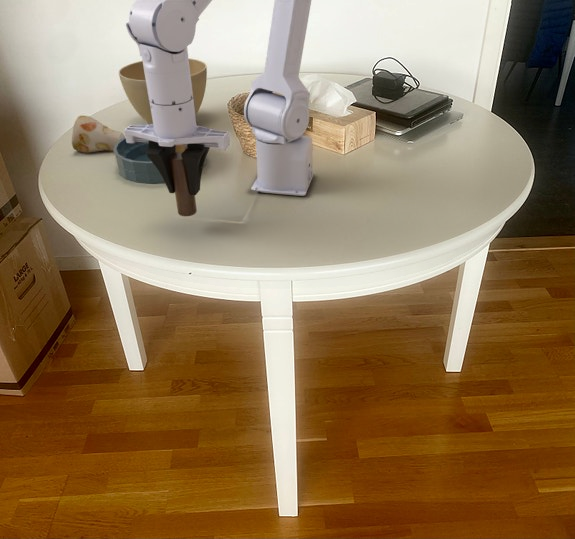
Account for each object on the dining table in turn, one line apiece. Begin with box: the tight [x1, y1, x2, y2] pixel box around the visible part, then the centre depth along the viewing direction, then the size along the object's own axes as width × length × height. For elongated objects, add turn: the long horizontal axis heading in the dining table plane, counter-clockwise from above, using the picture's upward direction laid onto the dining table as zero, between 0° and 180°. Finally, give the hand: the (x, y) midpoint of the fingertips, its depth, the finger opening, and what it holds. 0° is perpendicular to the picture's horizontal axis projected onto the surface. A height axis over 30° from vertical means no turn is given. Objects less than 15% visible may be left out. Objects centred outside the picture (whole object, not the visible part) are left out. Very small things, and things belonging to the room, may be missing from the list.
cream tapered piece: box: [71, 115, 125, 154], centre depth 104 cm, size 8×10×10 cm
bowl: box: [112, 137, 207, 184], centre depth 98 cm, size 16×16×4 cm
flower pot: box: [118, 57, 208, 125], centre depth 114 cm, size 18×18×12 cm
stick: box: [169, 152, 198, 217], centre depth 77 cm, size 3×3×9 cm
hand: (184, 191), depth 77 cm, fingers closed on stick, 3 cm apart
